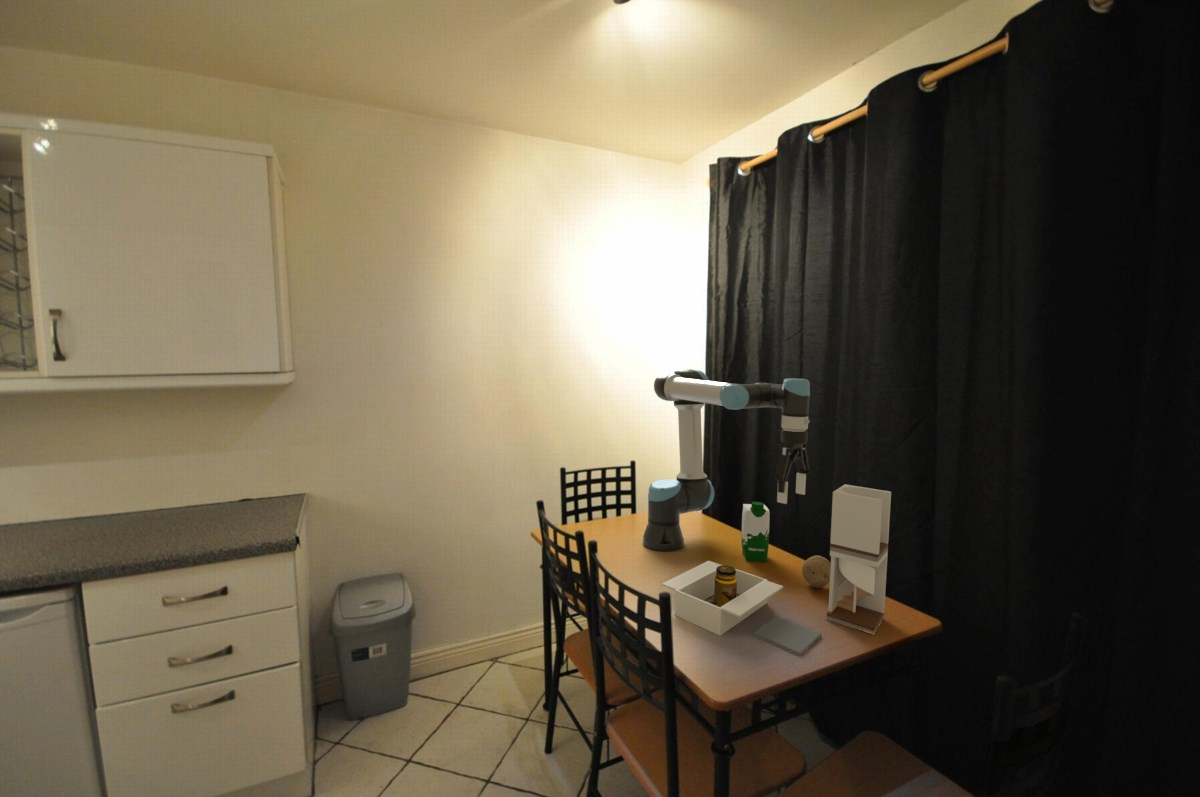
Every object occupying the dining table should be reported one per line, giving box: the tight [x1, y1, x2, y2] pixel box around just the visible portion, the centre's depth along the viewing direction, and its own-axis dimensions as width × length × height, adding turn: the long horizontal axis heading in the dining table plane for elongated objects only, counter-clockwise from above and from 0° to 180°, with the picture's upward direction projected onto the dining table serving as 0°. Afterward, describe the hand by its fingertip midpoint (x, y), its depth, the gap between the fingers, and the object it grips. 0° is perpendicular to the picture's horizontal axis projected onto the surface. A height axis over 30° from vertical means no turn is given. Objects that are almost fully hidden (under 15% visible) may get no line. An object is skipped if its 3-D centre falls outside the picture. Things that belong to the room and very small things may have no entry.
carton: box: [661, 560, 784, 637], centre depth 143 cm, size 24×24×7 cm
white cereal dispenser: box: [826, 483, 892, 633], centre depth 136 cm, size 11×11×35 cm
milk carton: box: [741, 501, 771, 563], centre depth 179 cm, size 9×9×20 cm
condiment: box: [707, 564, 738, 607], centre depth 143 cm, size 7×8×12 cm
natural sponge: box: [801, 555, 831, 589], centre depth 156 cm, size 9×9×10 cm
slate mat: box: [753, 615, 822, 656], centre depth 130 cm, size 12×12×1 cm
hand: (791, 498), depth 158 cm, fingers open, 13 cm apart
